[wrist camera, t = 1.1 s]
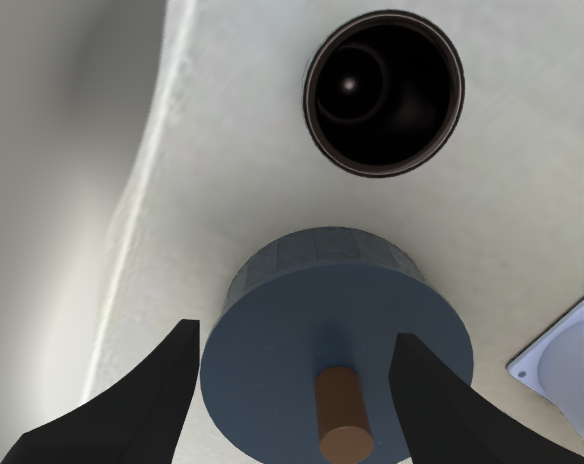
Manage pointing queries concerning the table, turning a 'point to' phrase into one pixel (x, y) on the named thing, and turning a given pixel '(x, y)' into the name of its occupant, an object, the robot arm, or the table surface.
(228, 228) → the table surface
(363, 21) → the gray hollow cylinder
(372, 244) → the pan
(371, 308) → the pan lid
